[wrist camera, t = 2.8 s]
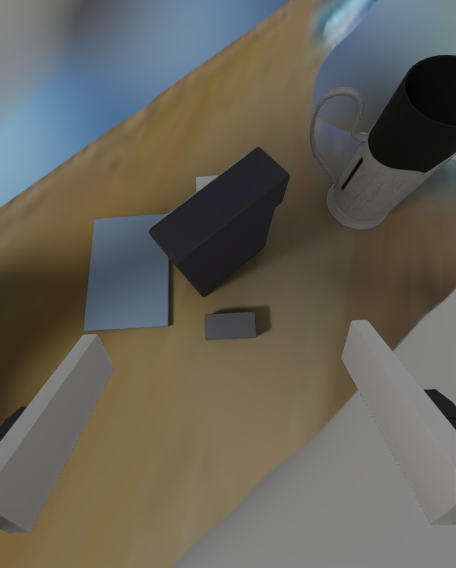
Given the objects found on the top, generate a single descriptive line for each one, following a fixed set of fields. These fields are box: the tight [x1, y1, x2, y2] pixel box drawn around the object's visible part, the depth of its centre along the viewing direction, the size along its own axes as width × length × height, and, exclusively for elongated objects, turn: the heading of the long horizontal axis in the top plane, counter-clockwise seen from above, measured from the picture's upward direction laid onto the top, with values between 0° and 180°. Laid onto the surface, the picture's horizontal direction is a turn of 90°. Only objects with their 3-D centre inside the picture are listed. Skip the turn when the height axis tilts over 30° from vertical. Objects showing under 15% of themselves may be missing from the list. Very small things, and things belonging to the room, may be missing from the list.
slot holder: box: [196, 176, 256, 340], centre depth 29 cm, size 6×20×5 cm, turn 3°
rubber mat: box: [83, 214, 170, 331], centre depth 31 cm, size 11×16×1 cm
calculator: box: [149, 147, 290, 297], centre depth 24 cm, size 11×4×15 cm, turn 130°
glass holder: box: [310, 55, 456, 230], centre depth 26 cm, size 9×14×15 cm, turn 73°
